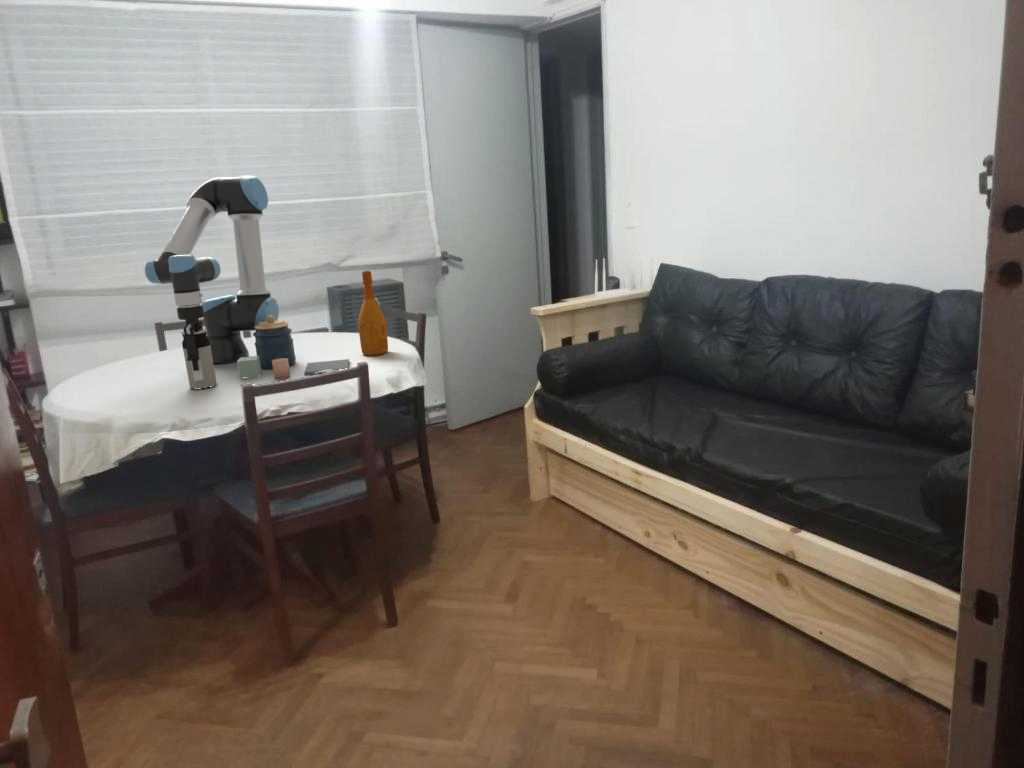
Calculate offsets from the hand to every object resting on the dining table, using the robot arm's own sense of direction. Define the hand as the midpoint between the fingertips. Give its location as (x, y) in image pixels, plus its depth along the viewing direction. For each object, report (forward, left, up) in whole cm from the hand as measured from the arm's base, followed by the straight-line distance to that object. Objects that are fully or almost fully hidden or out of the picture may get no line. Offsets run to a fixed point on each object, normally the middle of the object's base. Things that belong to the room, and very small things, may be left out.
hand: (201, 376), depth 229 cm
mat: (-9, +38, -3) cm, 39 cm away
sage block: (-9, +13, -3) cm, 16 cm away
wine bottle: (-26, +54, -3) cm, 60 cm away
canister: (-22, +20, -3) cm, 30 cm away
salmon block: (-2, +24, -3) cm, 24 cm away
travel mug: (0, 0, -3) cm, 3 cm away
